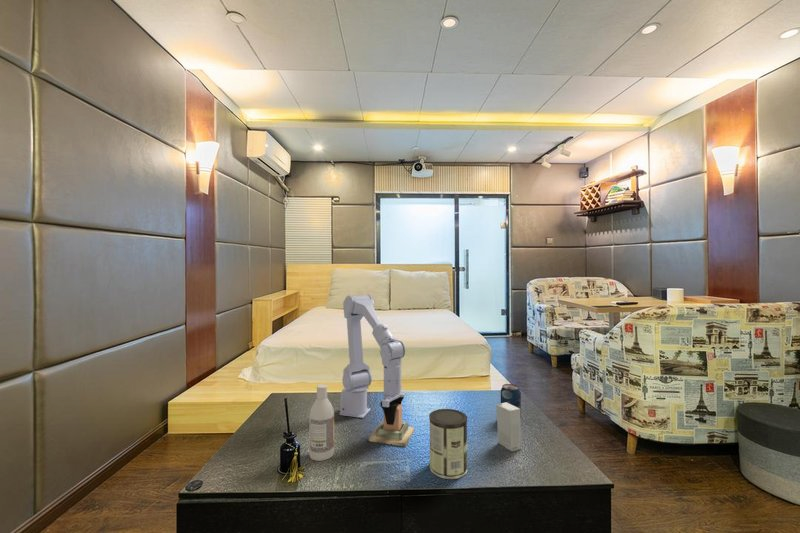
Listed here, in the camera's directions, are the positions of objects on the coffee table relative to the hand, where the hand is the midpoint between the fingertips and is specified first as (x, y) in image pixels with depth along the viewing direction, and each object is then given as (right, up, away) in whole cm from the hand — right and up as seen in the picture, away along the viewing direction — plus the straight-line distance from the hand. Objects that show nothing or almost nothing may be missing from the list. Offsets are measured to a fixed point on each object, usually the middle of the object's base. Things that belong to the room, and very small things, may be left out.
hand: (392, 421), depth 111 cm
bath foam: (-20, -5, -12) cm, 24 cm away
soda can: (+42, -5, +12) cm, 44 cm away
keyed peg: (0, -2, 0) cm, 2 cm away
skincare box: (+36, -5, -6) cm, 37 cm away
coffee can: (+16, -5, -18) cm, 24 cm away
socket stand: (0, -5, 0) cm, 5 cm away
